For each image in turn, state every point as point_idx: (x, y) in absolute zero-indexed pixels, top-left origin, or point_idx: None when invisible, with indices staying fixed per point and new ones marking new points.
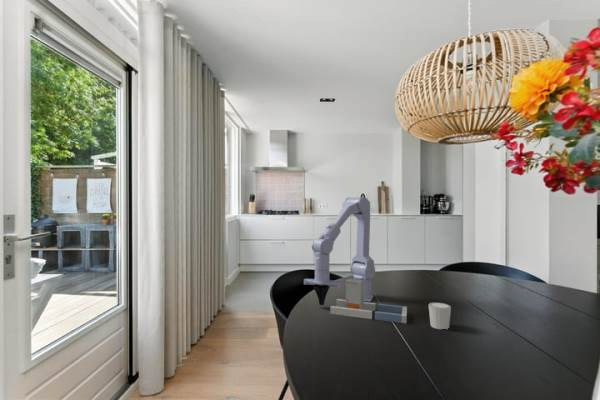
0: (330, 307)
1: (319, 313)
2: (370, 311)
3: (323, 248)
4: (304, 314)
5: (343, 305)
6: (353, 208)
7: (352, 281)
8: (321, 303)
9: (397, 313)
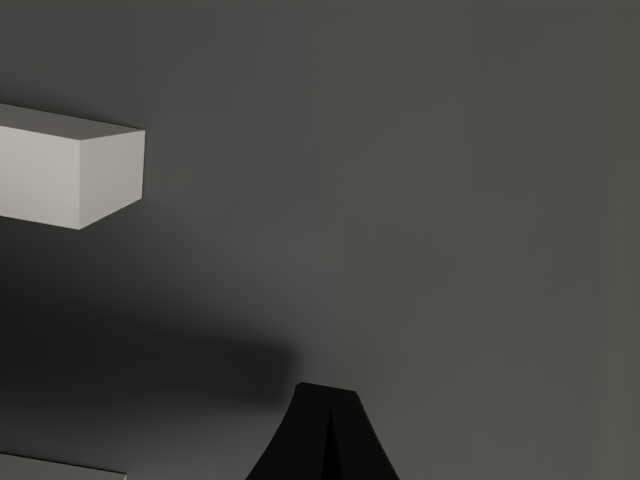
0: (82, 136)
1: (333, 123)
2: None
3: None
4: (610, 6)
5: (5, 477)
6: None
7: None
8: (321, 398)
9: None
